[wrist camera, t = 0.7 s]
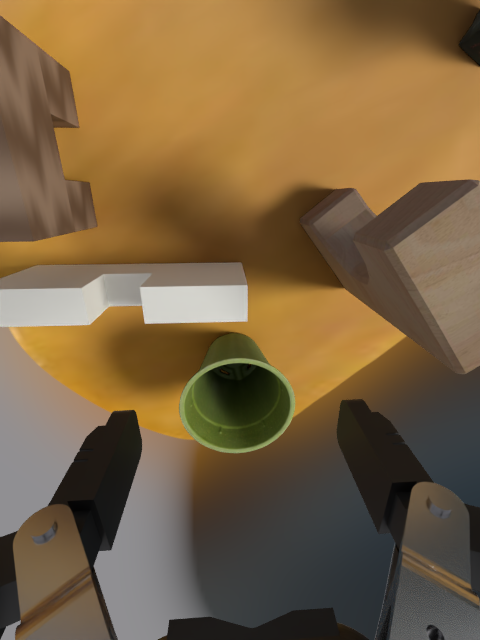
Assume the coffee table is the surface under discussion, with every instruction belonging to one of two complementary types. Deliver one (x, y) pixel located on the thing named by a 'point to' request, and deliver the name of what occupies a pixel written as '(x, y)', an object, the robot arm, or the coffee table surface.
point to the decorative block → (411, 262)
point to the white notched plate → (124, 293)
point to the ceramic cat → (472, 40)
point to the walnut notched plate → (36, 145)
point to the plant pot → (236, 398)
